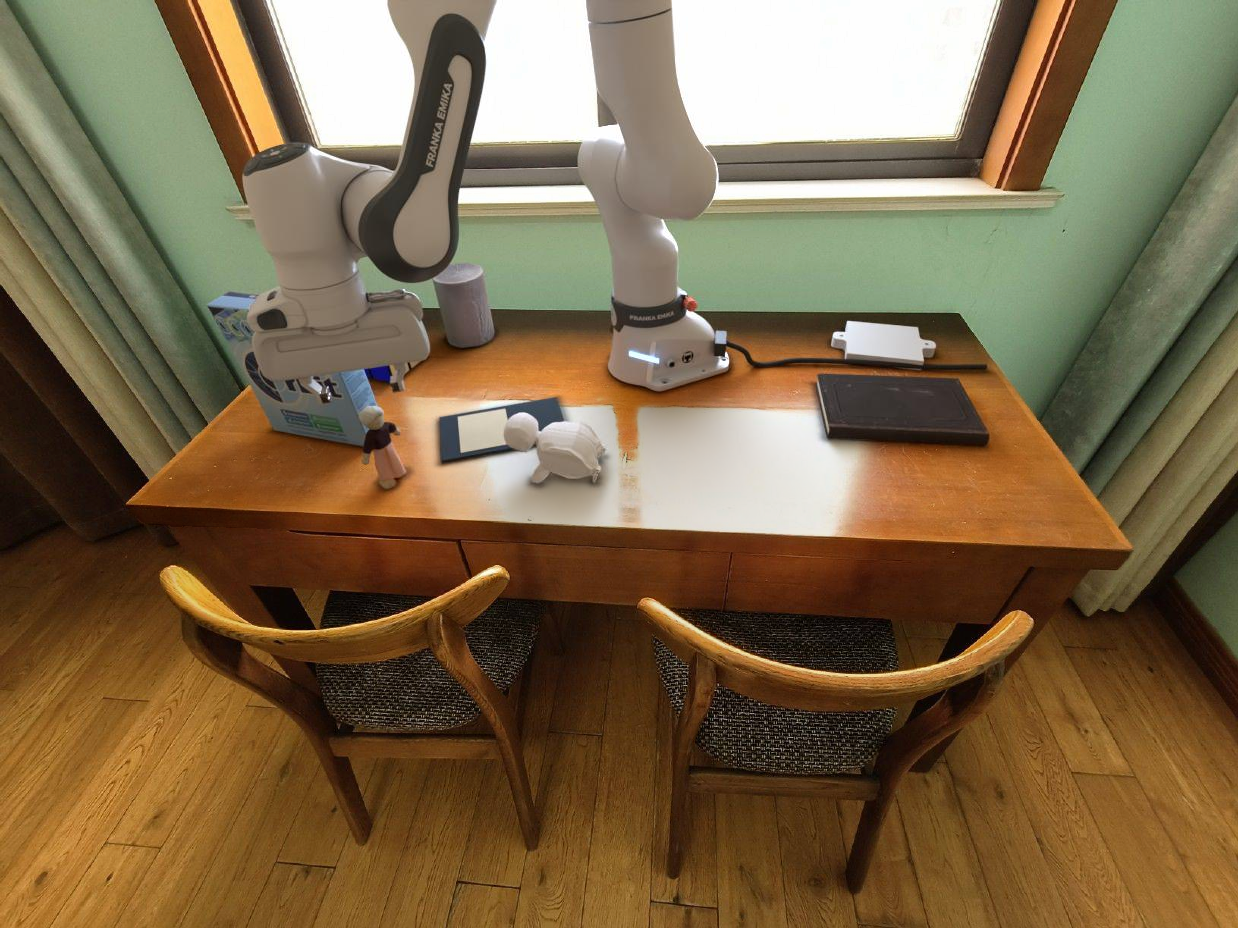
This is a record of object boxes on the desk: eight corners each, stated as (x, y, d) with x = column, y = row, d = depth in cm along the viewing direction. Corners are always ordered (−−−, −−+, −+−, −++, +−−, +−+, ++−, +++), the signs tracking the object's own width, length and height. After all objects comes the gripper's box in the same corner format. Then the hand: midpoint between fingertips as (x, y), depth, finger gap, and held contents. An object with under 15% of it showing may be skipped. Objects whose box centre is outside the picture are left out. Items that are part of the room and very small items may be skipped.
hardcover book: (814, 384, 104) (817, 373, 103) (954, 389, 101) (958, 378, 100) (827, 440, 92) (829, 428, 91) (985, 448, 89) (990, 436, 88)
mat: (556, 399, 104) (556, 396, 103) (569, 439, 95) (569, 436, 94) (440, 419, 100) (439, 416, 100) (442, 463, 91) (441, 460, 91)
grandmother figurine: (394, 494, 86) (367, 424, 78) (370, 491, 87) (341, 421, 79) (418, 461, 92) (395, 392, 84) (395, 458, 93) (370, 390, 85)
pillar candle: (472, 322, 128) (457, 252, 118) (504, 333, 123) (492, 262, 113) (437, 340, 122) (418, 269, 112) (470, 353, 117) (453, 280, 107)
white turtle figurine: (597, 466, 94) (507, 432, 93) (614, 427, 89) (519, 390, 87) (586, 503, 88) (489, 467, 86) (604, 464, 82) (501, 425, 81)
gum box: (388, 431, 98) (341, 301, 83) (369, 450, 94) (317, 318, 80) (292, 414, 103) (231, 289, 88) (271, 432, 99) (204, 303, 85)
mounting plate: (830, 360, 110) (832, 351, 109) (832, 328, 119) (833, 319, 118) (936, 372, 106) (939, 362, 104) (929, 337, 115) (932, 328, 114)
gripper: (417, 277, 75) (441, 372, 84) (243, 298, 72) (287, 395, 81) (416, 297, 71) (442, 395, 79) (230, 321, 67) (279, 421, 76)
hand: (363, 395), depth 80 cm, fingers open, 8 cm apart
